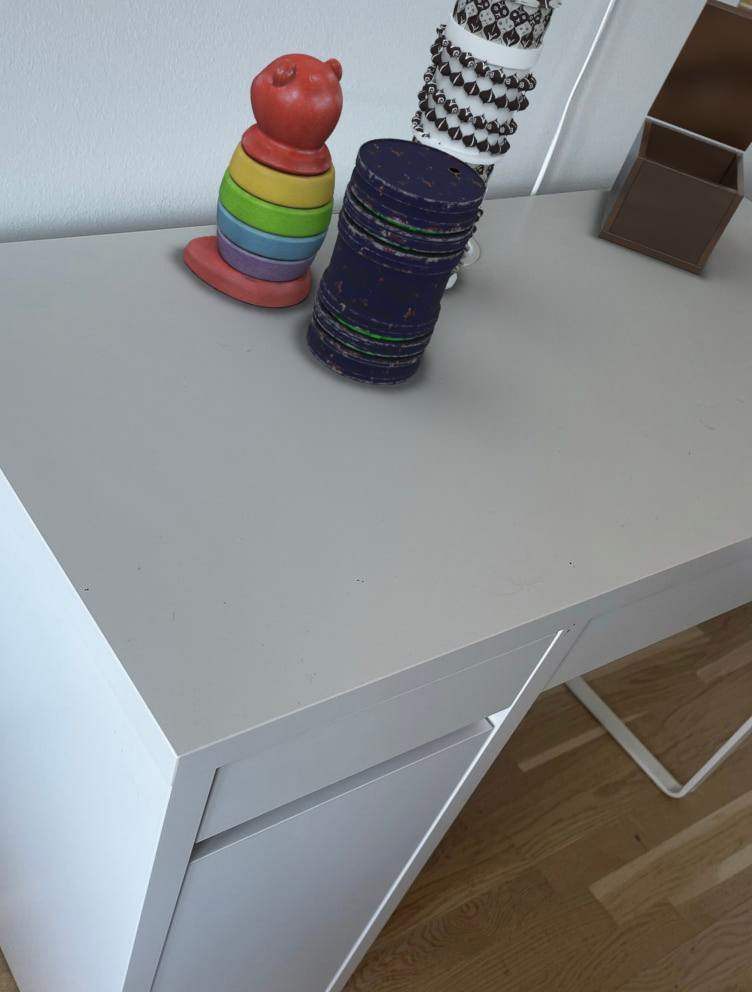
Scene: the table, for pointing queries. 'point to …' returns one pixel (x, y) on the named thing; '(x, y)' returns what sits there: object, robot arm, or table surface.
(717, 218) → the chest
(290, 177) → the stacking bear
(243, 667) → the table surface
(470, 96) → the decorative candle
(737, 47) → the lid
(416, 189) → the storage jar
